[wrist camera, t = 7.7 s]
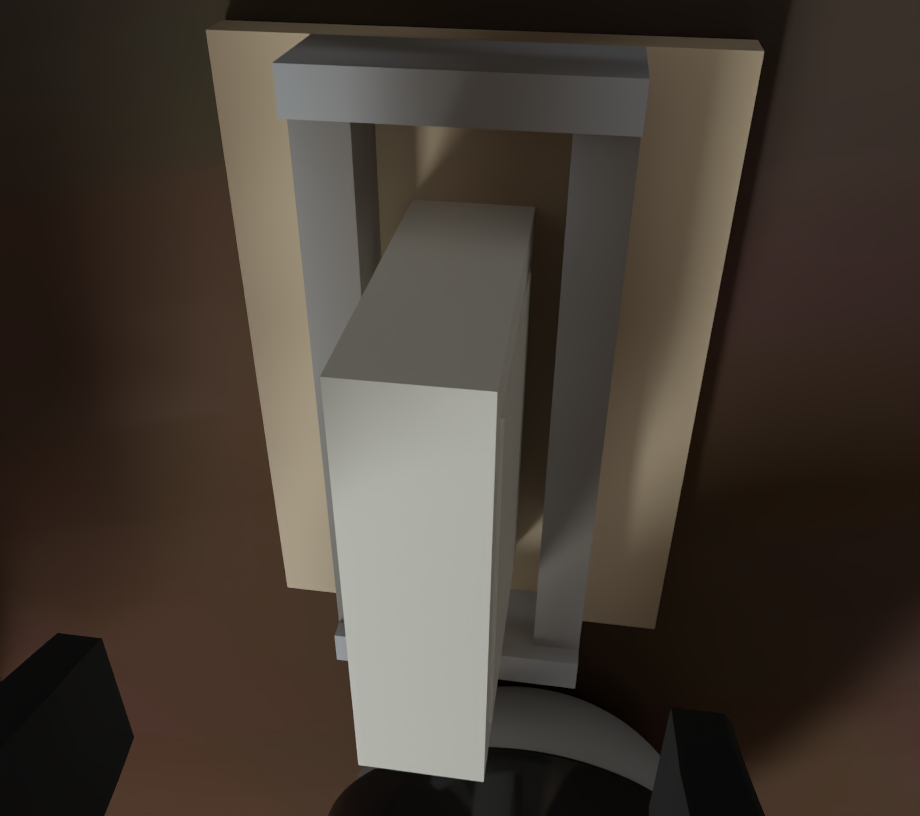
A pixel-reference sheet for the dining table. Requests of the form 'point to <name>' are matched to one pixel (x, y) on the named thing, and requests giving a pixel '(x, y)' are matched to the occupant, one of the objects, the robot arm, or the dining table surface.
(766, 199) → the dining table surface
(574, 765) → the egg shaped speaker
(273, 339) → the door frame
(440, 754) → the door panel
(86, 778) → the robot arm
